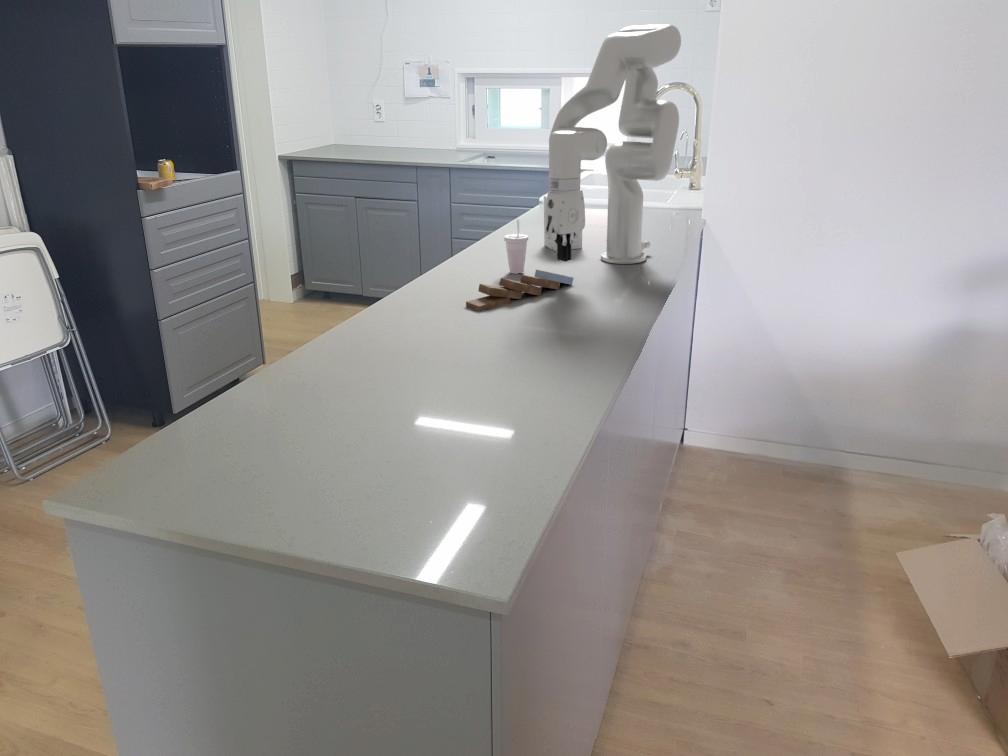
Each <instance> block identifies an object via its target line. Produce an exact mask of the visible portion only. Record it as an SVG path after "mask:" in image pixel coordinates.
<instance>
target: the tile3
mask: <svg viewBox="0 0 1008 756" xmlns="http://www.w3.org/2000/svg"><path fill="white" fill-rule="evenodd" d="M498 286H502V287H506V288H509V289H512V290H517V291H521V292H522V293H527V294H530V295H534V296H540V297H541V294H542V291H543V287H540V286H535V285H530V284H526V283H522V282H520V281H519V280H513V279H509V278H503V277H500V279H499V283H498Z"/></svg>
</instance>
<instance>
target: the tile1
mask: <svg viewBox="0 0 1008 756" xmlns="http://www.w3.org/2000/svg"><path fill="white" fill-rule="evenodd" d="M533 277H537V278H542V279H547V280H551V281H556V282H560V284H561V283H562V284H568V285H571V284H572V285H573V282H574V277H573V276H567V275H563V274H558V273H554V272H550V271H545V270H540V269H535V273H534V276H533Z"/></svg>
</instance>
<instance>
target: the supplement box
mask: <svg viewBox="0 0 1008 756" xmlns="http://www.w3.org/2000/svg"><path fill="white" fill-rule="evenodd" d="M546 202H547V195H545V196H543V226H544V227H543V228H544V229H543V232H544V233H543V237H544V239H543V240H544V241H543V246H544V247H546V246H547V248H548V247H549V248H548V249H550V248H551V249H550V250H552V249H553V250H552V251H554V252H557V244H556V243H555V241H554V240H551V239H548V238H547V237H548V232H547V231H546V228H545V212H546ZM582 248H583V230H581V231H580V233H579V234H577V235H575V237H574V239H573V243H572V244H571V250H577V249H578V250H579V249H582Z"/></svg>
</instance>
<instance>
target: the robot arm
mask: <svg viewBox="0 0 1008 756" xmlns="http://www.w3.org/2000/svg"><path fill="white" fill-rule="evenodd" d="M681 35H682V34H681V33H680V31H679V29H678V28H677V27H676V25H673V24H666V23H665V24H645V25H644V24H643V25H630V26H626V27H623V28H621V29H620V30H619V31H618V32H615V33H612V34H609V35H608V36H607V37H605V39H604V40H603V42H602V44H601V47H600V48H599V51H598V54H597V56H596V59H595V61H594V64H593V67H592V69H591V72H590V75H589V77H588V80H587V82H586V84H585V86H584V87H583V88H581V89H580V90H578V91H577V92H576V93H574V94H573V96H572V97H570V98H569V100H568V101H566V102H565V103H564V104H563V106H562V107H561V108H560V109H559V111H558V113H557V115H556V118H555V120H554V122H553V124H552V127H551V130H550V133H549V138H548V183H547V187H548V192H547V194H546V196H547V202H546V212H545V228H546V231H547V232H548V237H547V238H548V239H551V240H554V241H555V243H556V244H557V251H556V252H557V253H556V255H557V256H556V259H557V260H558V261H561V262H565V263H566V262H568V261H569V262H570V261H571V260H572V249H571V244H572V243H573V239H574V237H575V235H577V234H579V233H580V231H581V230H582V231H583V230H584V229H585V227H586V210H585V209H586V208H585V198H584V193H583V189H581V172H582V171H581V166H582V165H581V164H582V163H581V162H582V161H596V160H598V159H600V158H601V157H602V156H604V154H605V158H604V163H605V170H606V175H607V176H606V177H607V217H606V218H607V219H606V221H607V223H606V224H607V225H606V250H605V252H601V254H600V259H601V261H603V262H607V263H610V264H616V265H618V264H621V265H632V264H633V265H634V264H638V263H639V264H640V263H643V262H644V261H646V260H647V254H646V253H644V252H643V251H644V249H648V248H650V246H651V242H650V241H649V240H646V241H643V240H642V235H643V233H642V232H643V217H644V216H643V215H644V213H643V212H644V192H643V189H642V187H641V184H640V183H639V181H638V180H641V181H654V182H657V181H662V180H663V179H665V178H667V176H668V174H669V171H670V169H671V167H672V166H671V164H672V161H673V155H674V151H675V147H676V140H677V137H678V131H679V125H680V115H679V109H678V106H677V105H676V104H675V103H674V102H672V101H671V100H664V99H656V98H657V92H658V85H659V81H658V77H657V75H656V72H655V71H654V69H655V68H657V67H660V66H662V65H664V64H667V63H669V62H671V61H672V60H673V59H675V58H676V57H677V55H679V54H678V53H679V52H680V49H681V46H682V45H681V44H682V36H681ZM623 86H624V90H623V94H622V95H623V96H622V102H621V105H620V112H619V118H618V130H619V132H620V133H621V134H622V135H623V136H626V137H630V138H637V139H638V138H643V139H652V142H643V141H642V142H641V141H630V140H629V141H625V140H624V141H618V142H615V143H613V144H611V145H610V146H609V147H608V139H607V136H606V134H605V133H604V132H603V131H602V130H601V129H598V128H595V127H594V128H593V127H583V126H577V124H578V123H579V122H580V121H582V119H584V118H585V117H587V116H589V115H592V114H593V113H595V112H598V111H601V110H603V109H605V108H607V107H608V106H612V105H613V104H614V103H615V102H617V100H618V99H619V97H620V94H621V92H622V89H623ZM607 147H608V148H607ZM605 152H606V153H605Z"/></svg>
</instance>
